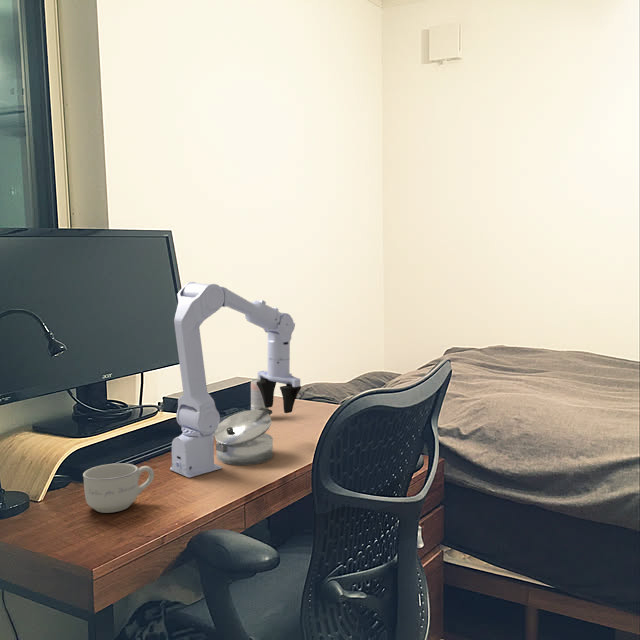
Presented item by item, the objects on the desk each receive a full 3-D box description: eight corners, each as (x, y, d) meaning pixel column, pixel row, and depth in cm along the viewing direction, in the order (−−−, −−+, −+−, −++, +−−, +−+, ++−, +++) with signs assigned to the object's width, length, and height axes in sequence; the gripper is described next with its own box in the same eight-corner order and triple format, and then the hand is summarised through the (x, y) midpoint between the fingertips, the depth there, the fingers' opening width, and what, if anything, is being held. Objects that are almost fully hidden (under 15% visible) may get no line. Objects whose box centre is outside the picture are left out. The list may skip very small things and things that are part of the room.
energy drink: (270, 417, 213) (270, 378, 212) (267, 421, 208) (266, 382, 207) (252, 416, 214) (252, 378, 212) (249, 421, 209) (249, 381, 207)
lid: (240, 450, 164) (237, 442, 164) (203, 437, 175) (200, 430, 174) (286, 417, 174) (284, 409, 173) (249, 406, 184) (247, 399, 184)
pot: (237, 470, 165) (237, 451, 164) (202, 456, 175) (202, 439, 174) (284, 456, 175) (284, 439, 175) (248, 444, 185) (248, 428, 184)
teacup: (82, 520, 135) (81, 480, 134) (85, 500, 145) (83, 463, 144) (156, 513, 139) (155, 474, 138) (153, 494, 149) (152, 457, 148)
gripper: (309, 360, 178) (308, 412, 180) (271, 353, 188) (271, 402, 190) (288, 363, 173) (288, 416, 175) (251, 356, 183) (251, 406, 185)
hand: (278, 409), depth 182 cm, fingers open, 7 cm apart
